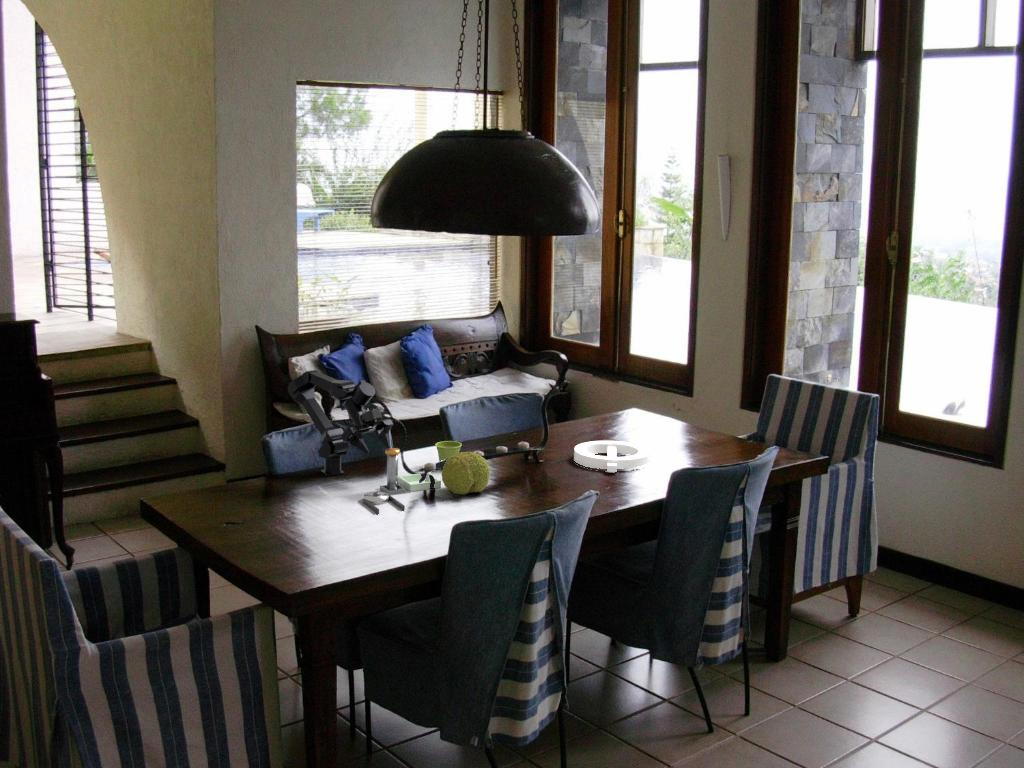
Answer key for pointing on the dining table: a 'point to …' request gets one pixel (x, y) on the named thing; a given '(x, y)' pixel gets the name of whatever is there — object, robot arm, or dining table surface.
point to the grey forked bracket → (379, 500)
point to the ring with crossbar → (611, 455)
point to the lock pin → (392, 468)
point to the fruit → (465, 473)
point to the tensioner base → (392, 492)
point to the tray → (417, 482)
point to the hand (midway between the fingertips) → (379, 451)
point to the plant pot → (447, 449)
